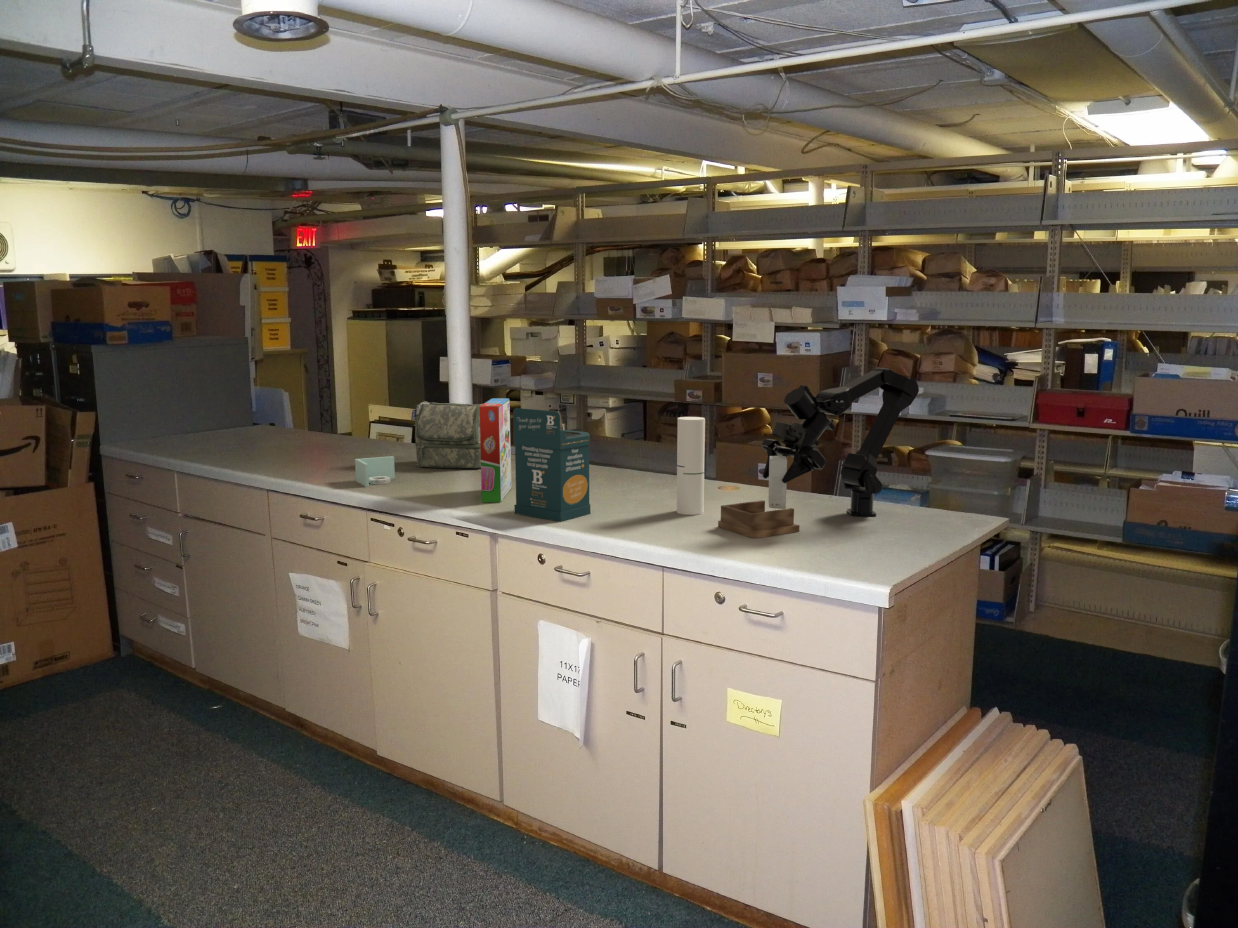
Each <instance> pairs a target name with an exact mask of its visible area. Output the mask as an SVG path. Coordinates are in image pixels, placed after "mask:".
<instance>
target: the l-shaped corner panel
mask: <svg viewBox="0 0 1238 928" xmlns="http://www.w3.org/2000/svg"><path fill="white" fill-rule="evenodd" d="M354 462H355V463H354V464H355V465H354V466H355V481H356V482H357V483H358V482H359V483H358V484H360V483H361V484H360V485H362V486H363V485H364V486H363V487H365V488H370V485H377V486H379V485H386V484H389V483H390V482H391V480H392V479H395V478H396V477H395V475H396V474H395V473H396V471H395V456H394V455H391V456H380V457H379V456H378V457H377V456H376V457H367V458H365V457H364V458H362V457H361V458H355V459H354ZM369 483H370V484H369Z"/></svg>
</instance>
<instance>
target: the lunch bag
mask: <svg viewBox="0 0 1238 928" xmlns="http://www.w3.org/2000/svg"><path fill="white" fill-rule="evenodd" d="M482 404H483V403H481V404H480V403H477V404H472V403H471V404H469V403H455V402H449V403H447V402H445V403H439V402H434V401H433V402H428V401H426V400H424V401H422V402H420V403H419V404H416V405H415V409H412V410H411V411H412V412H411V417H410V418H411V419H410V421H411V422H412V421H414V422H415V423H414V426H415V427H414V440H415V442H414V443H415V444H414V445H415V451H416V452H415V453H416V462H417V463H416V466H417V467H419V468H434V469H435V468H436V469H437V468H438V469H468V470H469V469H471V470H472V469H475V470H476V469H481V449H480V411H479V407H480V406H481V405H482Z"/></svg>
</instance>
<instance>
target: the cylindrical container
mask: <svg viewBox="0 0 1238 928" xmlns="http://www.w3.org/2000/svg"><path fill="white" fill-rule="evenodd" d="M676 432H677V439H676V441H677V443H676V444H677V445H676V446H677V447H676V449H677V451H676V453H677V454H676V459H677V460H676V513H677V514H680V515H684V516H695V515H696V516H697V515H701V514H702V515H703V514H704V513H705V512H704V510H705V507H704V506H705V499H704V498H705V454H706V453H705V451H706V450H705V449H706V448H705V442H706V441H705V439H706V418H705V417H701V416H680V417H677V431H676Z"/></svg>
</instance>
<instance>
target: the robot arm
mask: <svg viewBox="0 0 1238 928" xmlns="http://www.w3.org/2000/svg"><path fill="white" fill-rule="evenodd" d="M878 388H879V389H880V390H882V394H881V396H882V405H881V407H880V409H879V411H878V412H877V415H876V416H875V419H874V421H873V422H872V424H871V427H870V429H869V430H868V432H867V435H866V436H865V439H864V440H863V442H862V444H861V446H860V448H859V450H858V451H857V452H855V453H853V452H849V453H848V454H847V455H846V458H845V460H844V461H843V463H842V464H841V467H842V468H841V469H840V470H841V471H840V475H841V479H842V483H843V488H844V489H846V490H851V491H850V508H847V509H846V510H847V513H849V514H850V516H857V517H858V516H863V517H864V516H867V517H868V516H869V517H870V516H872V517H873V516H875V517H876V516H877V513H876V512H875V511H874V494H875V495H876V494H878V493H881V492H882V489H883V483H882V482H881V480H880V479H879V478H878V477H877V473H878V470H879V469H878V457H879V455H880V453H881V451H882V450H883V448H884V445H885V443H886V442H887V439H888V437H889V435H890V434H891V432H892V429H893V428H894V425H895V424H896V422H897V420H898V418H899V416H900V414H901V412H903V411H904V410H906V409H907V408H908V407H909V406H911V405H912V403H913V402H914V400H915V399H916V398H917V396H918V395H919V391H920V389H919V384H918V381H917V380H916V379H914V378H912V377H907V376H905V375H902V374H900V373H898V372H897V373H896V372H895V371H893V370H892V369H890V368H887V367H875V368H872V369H871V371H869V372H867V373H865V374H862V375H861V376H859V377H857V378H856V379H853V380H851V381H850V382H847V383H846V384H844V385H842V386H839V387H833V388H828V389H825V390H820V391H819V392H817V394H816V395H815V396H814V395H813V393H812V392H811V391H810V388H809V387H808V386H807V385H805V384H803V385H802V384H801V385H799V387H797V388H795V389H793V390H792V391H790V392H788V393H787V394H786V395H785V396H784V400H783V401H784V404H785V405H786V407H787V408H788V409H789V410H790V412H791V413H792V414H793V415H794V416H795V418H796V419H797V420H802V421H801V422H800V423H798V422H793V423H792V424H788V423H785V422H778V421H776V422H775V424H774V426H773V429H772V431H771V435H772V436H776V437H778V438H780V439H781V440H780V441H779V440H777V439H772V438H765V439H764V440H763V441H762V443H761V444H760V446H761V448H762V449H763V450H764V452H766V454H767V459H766V462H765V465H764V469H763V472H762V477H763V479H765V480H766V479H767V478H769V458H770V456H786V458H787V456H788V457H790V458H793V462H792V463H791V464H790V466H789V468H787V472H786V474H785V475H784V477H783V479H782V482H783V483H788V482H790V481H793V480H794V479H796V478H798V477H801V476H803V475H804V474H807V473H810V472H813V471H815V470H820V471H822V470H823V468H824V467H825V466H826V457H824V455H823V454H822V453H821V451H820V449H818V446H819V445H820V443H819V441H818V440H819V438H820V437H821V436H822V435H823V433H824V432H825V431H826V430H829V431H834V430H835V424H834V418H829V417H828V416H827V415H829V416H830V415H831V416H841V415H842V414H844V413H845V412H846V411H847V410H849V409H850V408H851V406H852V403H854V402H855V401H856V400H858V399H860V398H862V397H864V396H865V395H867V394H870V393H871V392H873V391H874V390H877V389H878ZM781 443H782V444H783V445H784V446H783V445H782V444H781Z"/></svg>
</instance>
